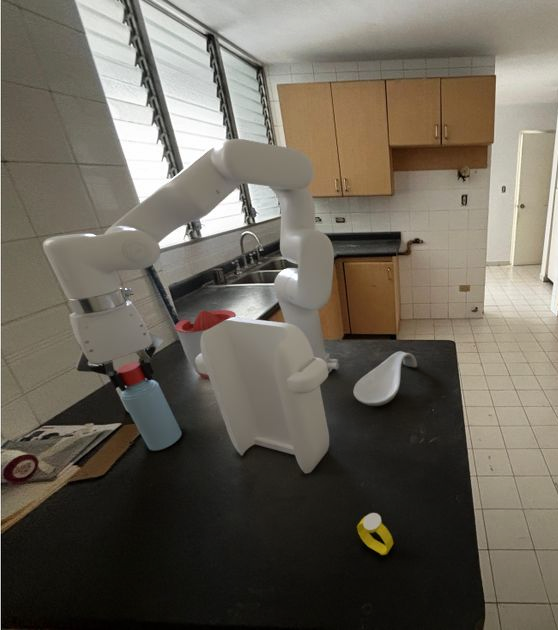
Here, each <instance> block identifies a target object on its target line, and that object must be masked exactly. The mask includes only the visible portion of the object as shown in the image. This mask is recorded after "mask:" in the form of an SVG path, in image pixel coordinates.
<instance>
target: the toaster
mask: <svg viewBox="0 0 558 630" xmlns="http://www.w3.org/2000/svg"><path fill="white" fill-rule="evenodd" d="M200 347H201V353H200V354H199V355H198V356H197V357H196V359H195V363H196V366H197V369H198V371H199V372H200V373H202V374H205V375H208V376H209V381H210V385H211V387H212V391H213V393H214V396H215V400H216V402H217V405H218V408H219V411H220V413H221V416H222V419H223V423H224V425H225V428H226V431H227V434H228V436H229V439H230V441H231V443H232V445H233V447H234V448H235V450H236V451H237V453H238V454H240V456H244V454H245V452H246V451H247V450H248V449H249V448H251V447H252V446H254V445H257V446H260V447H264V448H268V449H271V450H275V451H279V452H283V453H286V454H290V455H294V456H295V459H296V462H297V464H298V466H299V468H300V470H301V471H302V472H303V473H304V474H305V475H306V474H310V473H312V472H313V471H314V469H315V468H316V467H317V465H318V464H319V463H320V462H321V460H322V459H323V457H325V455H326V454H327V452H328V451H329V447H330V433H329V427H328V422H327V417H326V411H325V407H324V402H323V401H324V400H323V396H322V390H321V385H322V384H323V383H324V382H325V381H326V380H327V378H328V377H329V373H328V368H327V364H326V362H325V361H324V360H322V359H320V358H316V357H314V355H313V351H312V348H311V346H310V343H309V341H308V339H307V337H306V336H305V334H304V333H303V332H302V331H301V330H300V329H299V328H298V327H296V326H295V325H292V324H288V323H285V322H280V321H279V322H278V321H272V320H271V321H269V320H263V319H254V318H246V317H238V316H235V317H232V318H229V319H227V320H225V321H223V322H221V323H219V324H217V325H215V326H213V327H212V328H210V329H208V330H205V331H204V332H203V333H202V335H201V340H200Z"/></svg>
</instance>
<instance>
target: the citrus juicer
mask: <svg viewBox="0 0 558 630" xmlns="http://www.w3.org/2000/svg"><path fill="white" fill-rule="evenodd" d="M236 314H237V313H236V312H234V311H233V310H229V309H228V310H227V309H218V310H209V311H208V310H205V309H203V310H201V311H200V312H199V313H198V315H197V316H196V317H195V320H194V321H193V323H192V322H191V320H189V319H187V318H184V319H181V320H180V321H178V322H177V323H176V324H175V325H174V330H175V331H176V333H177V335H178V338H179V341H180V343H181V346H182V348H183V352H184V355H185V357H186V359H187V361H188V363H189V364H190V366H191V367H192V368H193V370H194V371H195V372H196V373H197V375H199V376H200V377H201V378H203V379H209V376H208V375H205V374H202V373H200V372H199V371H198V369H197V366H196V363H195V359H196V357H197V356H198V355H199V354H200V353H201V347H200V340H201V335H202V333H203V332H204V331H205V330H208V329H210V328H212V327H213V326H215V325H217V324H219V323H221V322H223V321H225V320H227V319H229V318H232V317H237V316H236ZM209 380H210V379H209Z"/></svg>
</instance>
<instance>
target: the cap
mask: <svg viewBox="0 0 558 630" xmlns="http://www.w3.org/2000/svg"><path fill="white" fill-rule="evenodd" d="M138 362H139V361H138ZM138 362H137V361H136V362H135V361H134V362H130V363H127V364H124V365H122V366H120V367H119V368H117V369H116V371H117V372H118V373H119V375H120V377H121V379H122V381H123V383H124V385H125V386H130V385H134V384H137V383H139V382H141V381H143V380H144V379H145V378H146V375H145V373H144V371H143V369H142V367H141V364H140V363H138Z"/></svg>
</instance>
